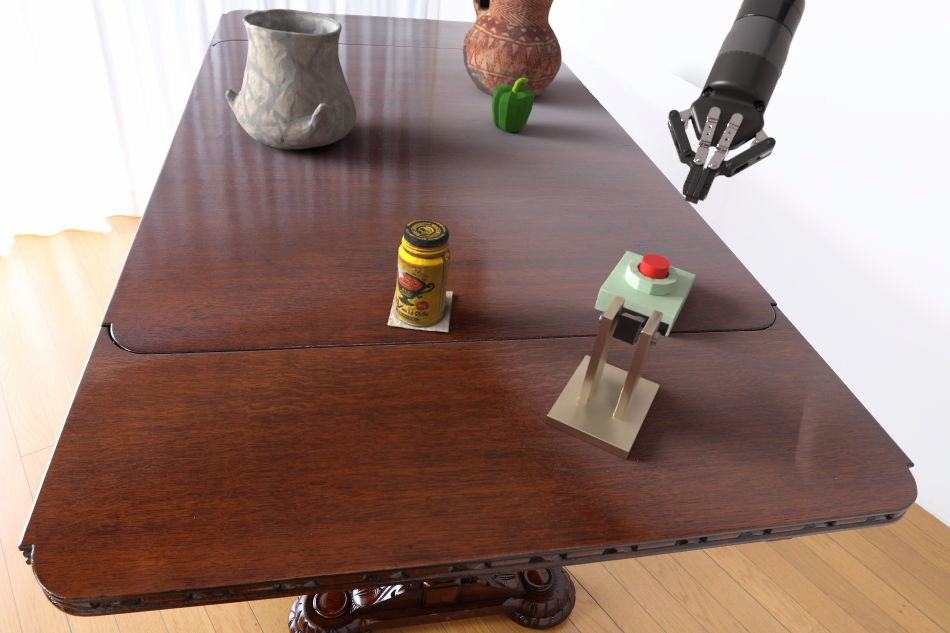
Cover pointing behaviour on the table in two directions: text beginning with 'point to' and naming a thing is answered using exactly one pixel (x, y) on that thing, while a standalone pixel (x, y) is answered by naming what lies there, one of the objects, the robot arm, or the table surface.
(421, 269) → the condiment
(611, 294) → the stop block
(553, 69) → the jug
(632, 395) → the bracket
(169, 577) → the table surface
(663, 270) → the stop button
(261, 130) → the vessel
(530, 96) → the bell pepper
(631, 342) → the lever
